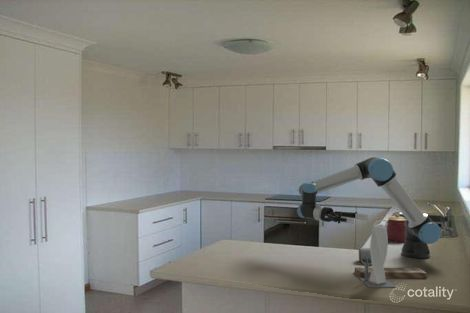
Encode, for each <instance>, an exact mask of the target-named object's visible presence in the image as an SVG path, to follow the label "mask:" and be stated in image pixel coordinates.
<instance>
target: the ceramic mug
mask: <svg viewBox="0 0 470 313" xmlns="http://www.w3.org/2000/svg"><path fill="white" fill-rule="evenodd" d="M367 253H368V263H369V266H372V261H371V253H370V247H361V248H358V261H359V262H361V263H362V265H364V266H365V263H366V257H367Z"/></svg>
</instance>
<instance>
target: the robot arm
mask: <svg viewBox="0 0 470 313" xmlns="http://www.w3.org/2000/svg"><path fill="white" fill-rule="evenodd" d="M366 179H371V180H373V182H374V183H375V185H376V186H377V187H378V188H382V189H383V190H384V192H385V193H386V194H387V195H388V197H389V198H390V200H392V202H393V204H394V205H395V206H396V207H397V208H398V210H399V211H400V212H401V213H402V215H403V217H404V218H405V219H406V232H405V242H403V244H402V245H403V246H402V248H401V252H400V253H401V255H402V256H405V257H409V258H414V259H429V258H430V257H431V252H430V249H429V245H431V244H435V243H436V242H438V241H439V239H440V237H441V236H442V235H441V234H442V231H441V227H440V226H439V225H438V224H437V223H436V222H434V220H432V219H431V217H430V215H428V214H427V213H424V212H423V211H422V210H421V209H420V208H419V206H418V205H417V204H416V202H415V201H414V200H413V198H412V197H411V196H410V194H409V193H408V192H407V191H406V189H405V188H404V186H403V185H402V184H401V183H400V181H399V180H398V179H397V173H396V171H395V170H394V167H393V165H392V163H391V162H390V161H389V160H387V159H385V158H382V157H376V156H375V157H368V158H367V159H364V160H362V161H360V162H358V163H357V162H356V163H355V164H354V165H353V166H351V167H349V168H346V169H344V170H343V169H342V170H341V171H338V172H334V173H332V174H329V175H326V176H323V177H322V178H318V179H315V180H312V181H310V182H303V183H302V184H301V185H299V187H298V192H299V193H298V194H299V195H300V196H301V203H299V205H298V206H297V209H296V212H297V215H298V216H299V218H303V219H306V220H313V221H314V220H315V221H318V222H321V221H322V222H326V223H327V222H328V223H330V222H334V223H337V224H341V223H344V224H351V225H352V224H354V222H355V220H361V221H368V220H369V216H368V214H364V213H358V212H357V211H355V212H351V211H350V212H349V211H337V210H335V211H334V209H333V208H332V207H328V206H327V207H326V206H322V205H317V194H320V193H323V192H327V191H329V190H331V189H335V188H337V187H340V186H343V185H346V184H349V183H351V182H355V181H357V180H360V181H363V180H366ZM354 219H355V220H354Z"/></svg>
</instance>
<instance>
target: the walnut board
mask: <svg viewBox="0 0 470 313" xmlns="http://www.w3.org/2000/svg"><path fill="white" fill-rule="evenodd" d="M371 270H372V267H368V273H369V275H368V278H370V274H371ZM384 272H385V278H386V279H388V278H389V279H391V278H392V279H427V277H428V276H427V275H428V273H427V272H426V271H425V270H423V269H421V268H420V267H384ZM354 274H355V275H356V276H358V278H365V267H354Z"/></svg>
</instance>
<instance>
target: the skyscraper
mask: <svg viewBox="0 0 470 313" xmlns="http://www.w3.org/2000/svg"><path fill="white" fill-rule="evenodd" d="M387 221H388V220H386V219H379V220H376V221H375V222H374V223H373V226H372V230H371V235H370V247H369V248H370V253H371V261H372V265H371V268H372V270H371V274H370V278H369V279H368V275H369V273H368V268H369V266H370V265H369V263H368V253H367V257H366V262H365V265H364V266H365V267H364V268H365V279H364V280H363V281H365V282H367V283H370V284H372V285H380V284H386V280H387V278H385V272H384V268H385V267H384V265H385V262H386V258H387V255H388V248H389V247H388V246H389V243H388V242H389V241H388V237H387V229H386V226H387ZM378 222H385V224H383V223H378Z"/></svg>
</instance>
